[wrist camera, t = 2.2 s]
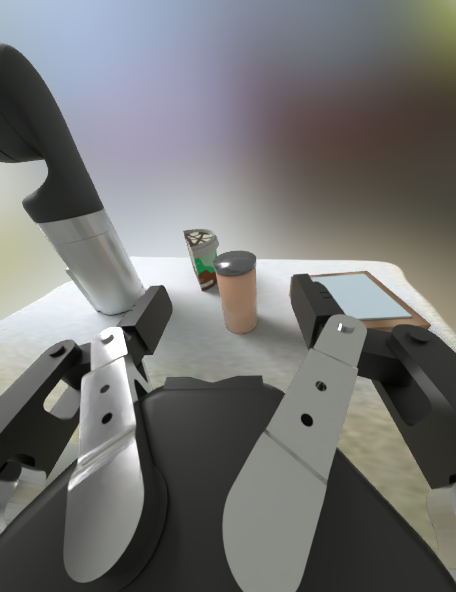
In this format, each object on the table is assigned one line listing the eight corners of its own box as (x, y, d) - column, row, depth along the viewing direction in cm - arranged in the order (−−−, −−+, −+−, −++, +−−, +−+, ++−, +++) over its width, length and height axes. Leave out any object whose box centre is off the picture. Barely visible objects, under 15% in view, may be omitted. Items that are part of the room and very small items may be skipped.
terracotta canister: (223, 335, 27) (210, 272, 20) (225, 311, 31) (215, 252, 24) (259, 333, 26) (257, 267, 20) (256, 309, 30) (254, 249, 24)
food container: (231, 286, 37) (225, 240, 31) (203, 294, 36) (191, 248, 30) (216, 263, 47) (209, 224, 41) (193, 269, 46) (183, 230, 40)
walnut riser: (310, 350, 23) (316, 328, 20) (289, 295, 32) (291, 275, 30) (412, 347, 22) (432, 323, 19) (359, 290, 31) (367, 269, 28)
